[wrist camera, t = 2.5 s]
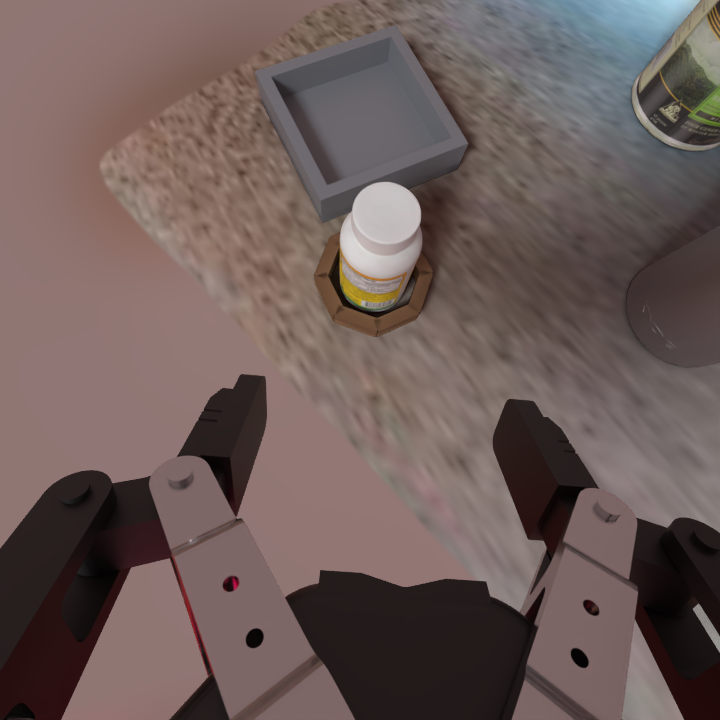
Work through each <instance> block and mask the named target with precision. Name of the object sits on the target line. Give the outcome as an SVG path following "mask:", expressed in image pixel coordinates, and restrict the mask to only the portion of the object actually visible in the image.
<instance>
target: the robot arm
mask: <svg viewBox="0 0 720 720" xmlns="http://www.w3.org/2000/svg"><path fill="white" fill-rule="evenodd" d="M626 306H627V315H628V318H629V322H630V325H631V327H632V329H633V331H634V333H635V335H636V336H637V337H638V339H639V340H640V341H641V343H642V344H643V345H644V346H645V347H646V348H647V349H648V350H649V351H650V352H652V353H653V354H654V355H656V356H657V357H659V358H661V359H662V360H664V361H666V362H669V363H671V364H674V365H678V366H683V367H701V366H705V365H710V364H715V363H719V362H720V225H719V226H717V227H716V228H714V229H712V230H710V231H709V232H707V233H705V234H703V235H702V236H700V237H698V238H697V239H695V240H693V241H691V242H689V243H688V244H686V245H684V246H682V247H681V248H679V249H677V250H675V251H674V252H672V253H670V254H668V255H667V256H665V257H663V258H662V259H660V260H658V261H656V262H655V263H653V264H651V265H650V266H648V267H646V268H645V269H643V270H642V271H641V272H640V273H638V274H637V276H636V277H635V278H634V280H633V281H632V282H631V285H630V287H629V290H628V293H627V300H626ZM266 402H267V401H266V380H265V376H256V375H244V374H241V375H240V376H239V378H238V381H237V383H236V384H235V386H234V388H233V389H226V388H222V389H221V390H220V391H218V392H217V393H216V394H214V395H213V396H212V397H211V398H210V399H209V401H208V403H207V405H206V406H205V408H204V411H203V412H202V414H201V415H200V417H199V420H198V421H197V422H196V424H195V426H194V428H193V430H192V431H191V433H190V435H189V437H188V438H187V440H186V442H185V444H184V446H183V447H182V449H181V451H180V453H179V454H178V456H177V457H176V458H173V459H171V460H168V461H166V462H165V463H163V464H162V465H160V466H159V467H158V468H157V469H156V470H155V471H154V472H153V474H152V475H151V476H149V477H145V478H141V479H136V480H130V481H124V482H118V483H112V482H111V479H110V478H109V476H108V475H106V474H105V473H103V472H100V471H94V470H90V471H81V472H78V473H74V474H71V475H68V476H66V477H64V478H62V479H60V480H59V481H57V482H56V483H54V484H53V485H52V486H50V487H49V488H48V489H47V490H46V491H45V492H44V494H43V495H42V496H41V498H40V499H39V500H38V501H37V503H36V504H35V505H34V507H33V508H32V509H31V510H30V511H29V513H28V514H27V515H26V517H25V518H24V519H23V521H22V522H21V523H20V524H19V526H18V527H17V528H16V529H15V531H14V532H13V533H12V534H11V536H10V537H9V538H8V540H7V541H6V542H5V544H4V545H3V546H2V547H1V548H0V720H61V719H62V716H63V714H64V712H65V710H66V708H67V706H68V703H69V701H70V699H71V697H72V695H73V693H74V690H75V688H76V686H77V684H78V682H79V680H80V677H81V675H82V673H83V671H84V669H85V667H86V664H87V662H88V660H89V658H90V656H91V653H92V651H93V649H94V647H95V645H96V643H97V640H98V638H99V636H100V634H101V632H102V630H103V627H104V625H105V623H106V621H107V619H108V617H109V614H110V612H111V610H112V608H113V606H114V603H115V601H116V599H117V597H118V595H119V593H120V590H121V588H122V586H123V584H124V582H125V580H126V577H127V575H128V573H129V571H130V569H131V567H135V566H139V565H143V564H147V563H151V562H155V561H160V560H164V559H168V558H170V561H171V564H172V567H173V570H174V573H175V576H176V579H177V582H178V585H179V588H180V591H181V594H182V597H183V600H184V603H185V606H186V609H187V612H188V615H189V618H190V622H191V625H192V628H193V631H194V634H195V638H196V641H197V644H198V647H199V650H200V653H201V657H202V659H203V662H204V666H205V669H206V671H207V675H208V678H207V679H206V680H205V681H204V682H203V683H202V684H201V686H200V687H199V688H198V689H197V690H196V691H195V692H194V693H193V694H192V696H191V697H190V698H189V699H188V700H187V701H186V702H185V703H184V704H183V705H182V706H181V708H180V709H179V710H178V711H177V712H176V713H175V714H174V715H173V716H172V718H171V719H170V720H622V712H623V704H624V696H625V689H626V681H627V673H628V666H629V658H630V650H631V643H632V635H633V627H634V620H636V622H637V624H638V626H639V628H640V630H641V632H642V634H643V636H644V638H645V640H646V642H647V644H648V647H649V649H650V651H651V653H652V655H653V657H654V659H655V661H656V663H657V665H658V667H659V669H660V671H661V673H662V675H663V677H664V679H665V681H666V683H667V685H668V687H669V689H670V691H671V694H672V696H673V698H674V700H675V702H676V704H677V706H678V708H679V710H680V712H681V714H682V716H683V718H684V720H720V653H719V651H718V650H717V648H716V646H715V645H714V643H713V641H712V640H711V638H710V637H709V635H708V633H707V632H706V630H705V628H704V627H703V625H702V624H701V622H700V620H699V619H698V617H697V616H696V614H695V612H694V611H693V608H694V607H695V606H696V605H697V604H700V606H701V607H702V609H703V610H704V612H705V613H706V615H707V616H708V618H709V620H710V621H711V623H712V624H713V626H714V627H715V629H716V631H717V632H718V634H719V636H720V533H719V532H717V531H716V530H715V529H713V528H711V527H710V526H708V525H706V524H704V523H702V522H700V521H697V520H694V519H690V518H677V519H675V520H674V521H673V522H672V523H671V524H670V526H669V527H668V528H666V527H663V526H660V525H657V524H654V523H651V522H648V521H645V520H642V519H639V518H636V517H635V514H634V513H633V511H632V510H631V509H630V508H629V506H628V505H627V504H626V503H624V502H623V501H622V500H621V499H619V498H618V497H616V496H615V495H613V494H611V493H609V492H607V491H604V490H601V489H599V487H598V486H597V484H596V483H595V481H594V480H593V478H592V476H591V475H590V473H589V472H588V470H587V469H586V467H585V465H584V464H583V462H582V461H581V459H580V458H579V456H578V454H575V450H574V448H573V447H572V445H571V444H570V443H569V440H568V439H567V437H566V436H565V434H564V432H563V431H562V429H561V428H560V427H559V426H557V425H556V424H555V423H554V422H553V421H552V420H551V419H549V418H548V417H543V415H542V414H541V412H540V410H539V409H538V407H537V405H536V404H535V402H533V401H528V400H517V399H509V400H507V402H506V403H505V406H504V408H503V411H502V414H501V416H500V419H499V421H498V424H497V427H496V429H495V432H494V435H493V449H494V453H495V455H496V458H497V461H498V463H499V466H500V468H501V471H502V473H503V476H504V479H505V481H506V484H507V486H508V489H509V491H510V494H511V497H512V499H513V502H514V504H515V507H516V509H517V512H518V515H519V517H520V520H521V522H522V525H523V528H524V530H525V533H526V535H527V538H528V539H529V540H542V541H544V542H545V545H546V547H547V548H546V549H545V551H544V553H543V554H542V557H541V560H540V562H539V565H538V567H537V570H536V573H535V575H534V578H533V580H532V583H531V586H530V588H529V591H528V593H527V596H526V599H525V601H524V603H523V606H522V608H521V610H520V612H518V611H517V610H515V609H514V608H512V607H511V606H509V605H507V604H506V603H504V602H502V601H500V600H498V599H496V598H493V597H490V594H489V591H488V587H487V583H486V582H484V581H470V580H455V579H443V580H438V581H434V582H429V583H425V584H420V585H415V586H411V587H401V586H398V585H395V584H392V583H389V582H386V581H383V580H381V579H378V578H375V577H372V576H369V575H366V574H362V573H353V572H339V571H324V570H321V571H320V578H319V583H318V584H314V585H309V586H307V587H304V588H301V589H299V590H297V591H295V592H293V593H291V594H289V595H288V596H286V597H284V595H283V593H282V591H281V589H280V587H279V585H278V584H277V582H276V580H275V578H274V576H273V574H272V572H271V571H270V569H269V567H268V565H267V563H266V561H265V559H264V557H263V555H262V553H261V551H260V550H259V548H258V546H257V544H256V542H255V540H254V538H253V537H252V534H251V533H250V531H249V529H248V527H247V525H246V524H245V522H244V521H243V520H242V519H241V518H240V519H237V518H236V516H237V514H238V511H239V508H240V505H241V502H242V499H243V496H244V493H245V490H246V487H247V483H248V480H249V477H250V474H251V471H252V468H253V465H254V462H255V459H256V456H257V453H258V450H259V447H260V444H261V441H262V437H263V434H264V431H265V427H266V420H267V403H266Z"/></svg>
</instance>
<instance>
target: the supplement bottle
mask: <svg viewBox="0 0 720 720" xmlns="http://www.w3.org/2000/svg"><path fill="white" fill-rule="evenodd" d="M420 222H421V208H420V205H419V203H418V201H417V199H416V197H415V196H414V195H413V194H412V193H411V192H410V191H409V190H408V189H406V188H405V187H403V186H401V185H399V184H396V183H392V182H378V183H374V184H371V185H369V186H367V187H366V188H364V189H363V190H362V191H361V192H360V193H359V194H358V195H357V197H356V198H355V201H354V203H353V207H352V211H351V212H350V213H349V215H348V216H347V217H346V219H345V221H344V223H343V225H342V228H341V233H340V287H341V290H342V293H343V295H344V297H345V298H346V299H347V301H348V302H349V303H351V304H352V305H353V306H354V307H356V308H358V309H360V310H363V311H367V312H380V311H384V310H387V309H389V308H391V307H392V306H394V305H395V304H396V303H397V302H398V301H399V300H400V298H401V297H402V295H403V293H404V291H405V288H406V286H407V283H408V281H409V279H410V276H411V274H412V272H413V269H414V267H415V265H416V262H417V260H418V258H419V255H420V252H421V249H422V232H421V228H420Z"/></svg>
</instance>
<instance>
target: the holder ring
mask: <svg viewBox="0 0 720 720" xmlns="http://www.w3.org/2000/svg"><path fill="white" fill-rule="evenodd" d="M340 233H341V232H340ZM340 233H337V234H335V235H332V236H331V238H330V237H329V240H328V242H327V245H326V247H325V250H324V252H323V254H322V257H321V259H320V262H319V264H318V267H317V269H316V271H315V274H314V280H315V285H316V287H317V289H318V291H319V293H320V296H321V298H322V300H323V302H324V304H325V306H326V308H327V310H328V312H329V314H330V316H331V318H332V320H333V321H334V323H336V324H339V325H342V326H345V327H348V328H351V329H353V330H356V331H359V332H362V333H365V334H368V335H370V336H373V337H375V336H377V337H378V336H381V335H383V334H385V333H387V332H390V331H392V330H394V329H396V328H398V327H401V326H403V325H405V324H407V323H410V322H412V321H414V320H416V319H417V317H418V315H419V314H420V312H421V309H422V306H423V303H424V300H425V297H426V294H427V291H428V288H429V285H430V282H431V279H432V276H433V271H432V269H431V267H430V265H429V263H428V261H427V260H426V258H425V256H424V254H423V252H422V250H421V252H420V255H419V258H418V260H417V262H416V265H415V267H414V269H413V272H412V274H413V276H414V278H415V280H416V283H415V286H414V289H413V292H412V294H411V297H410V300H409V303H408V305H406V306H404V307H401V308H399V309H397V310H395V311H392V312H390V313H388V314H386V315H383V316H381V317H379V318H375V317H372V316H369V315H367V314H364V313H361V312H358V311H355V310H352V309H349V308H347V307H344V306H343V305H342V303H341V301H340V299H339V297H338V295H337V293H336V291H335V289H334V287H333V285H332V283H331V281H330V278H331V276H332V273H333V271H334V268H335V266H336V263H337V261H338V258H339V256H340Z"/></svg>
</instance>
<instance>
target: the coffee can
mask: <svg viewBox="0 0 720 720" xmlns="http://www.w3.org/2000/svg"><path fill="white" fill-rule="evenodd" d="M632 104H633V108H634V111H635V113H636V116H637V118H638V119H639V121H640V122H641V124H642V125H643V126H644V127H645V129H646V130H647V131H648V132H649V133H650V134H651V135H653V136H654V137H656V138H657V139H658V140H660V141H662V142H663V143H665V144H667V145H669V146H672V147H674V148H678V149H681V150H687V151H704V150H709V149H712V148H714V147H717V146H719V145H720V0H701V1H700V2H699V3H698V4H697V6H696V7H695V8H694V9H693V11H692V12H691V13H690V14H689V16H688V17H687V18H686V19H685V20H684V22H683V23H682V24H681V25H680V26H679V28H678V29H677V30H676V31H675V33H674V34H673V35H672V36H671V38H670V39H669V40H668V41H667V42H666V44H665V45H664V46H663V47H662V49H661V50H660V51H659V52H658V54H657V55H656V56H655V57H654V59H653V60H652V61H651V62H650V63H649V65H648V66H647V67H646V68H645V69H644V70H643V71H642V72H641V73H640V74H639V76H638V77H637V78H636V80H635V82H634V85H633V88H632Z"/></svg>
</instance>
